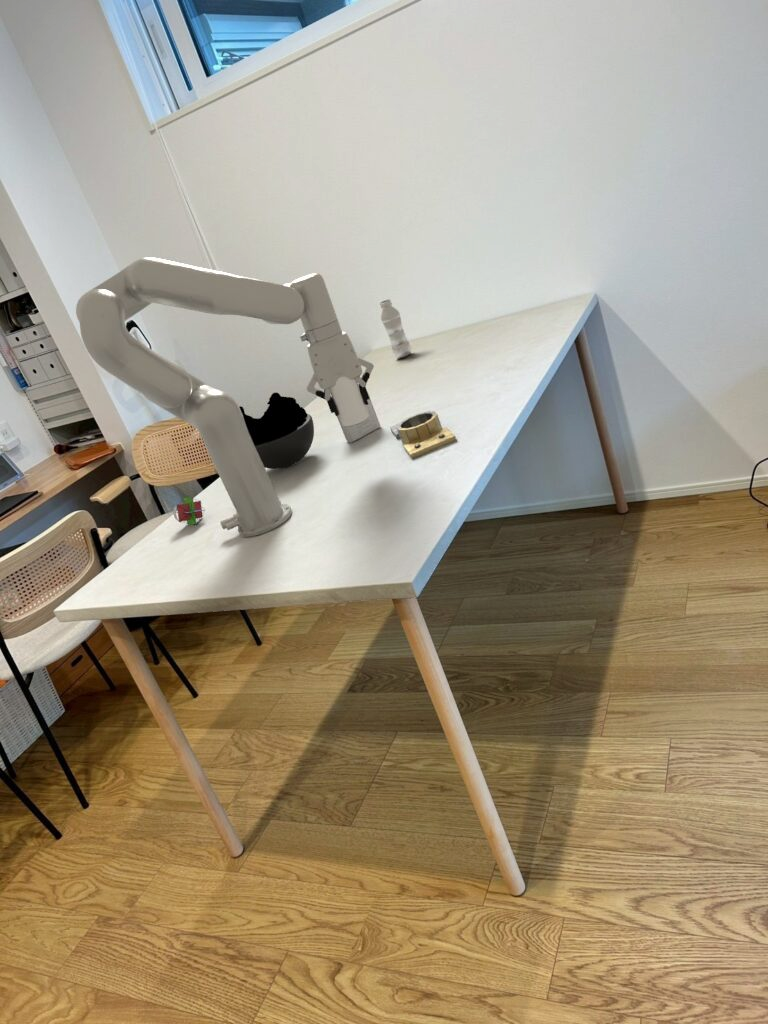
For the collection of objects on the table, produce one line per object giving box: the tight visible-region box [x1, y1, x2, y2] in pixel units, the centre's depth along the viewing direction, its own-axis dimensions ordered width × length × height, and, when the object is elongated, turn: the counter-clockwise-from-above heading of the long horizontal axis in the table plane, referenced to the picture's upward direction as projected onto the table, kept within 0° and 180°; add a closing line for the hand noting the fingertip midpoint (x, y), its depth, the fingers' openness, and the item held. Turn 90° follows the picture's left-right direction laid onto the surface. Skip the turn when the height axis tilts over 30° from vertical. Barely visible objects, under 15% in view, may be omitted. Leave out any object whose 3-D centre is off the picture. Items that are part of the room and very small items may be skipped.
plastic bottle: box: [379, 299, 413, 359], centre depth 268 cm, size 6×7×20 cm
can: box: [330, 374, 369, 427], centre depth 176 cm, size 6×6×12 cm
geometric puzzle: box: [172, 497, 206, 526], centre depth 191 cm, size 7×7×8 cm
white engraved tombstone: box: [336, 393, 381, 443], centre depth 205 cm, size 10×4×12 cm, turn 123°
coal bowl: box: [239, 392, 315, 470], centre depth 203 cm, size 20×20×19 cm
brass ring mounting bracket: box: [389, 410, 458, 460], centre depth 189 cm, size 11×26×4 cm, turn 11°
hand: (351, 408), depth 177 cm, fingers closed on can, 6 cm apart
